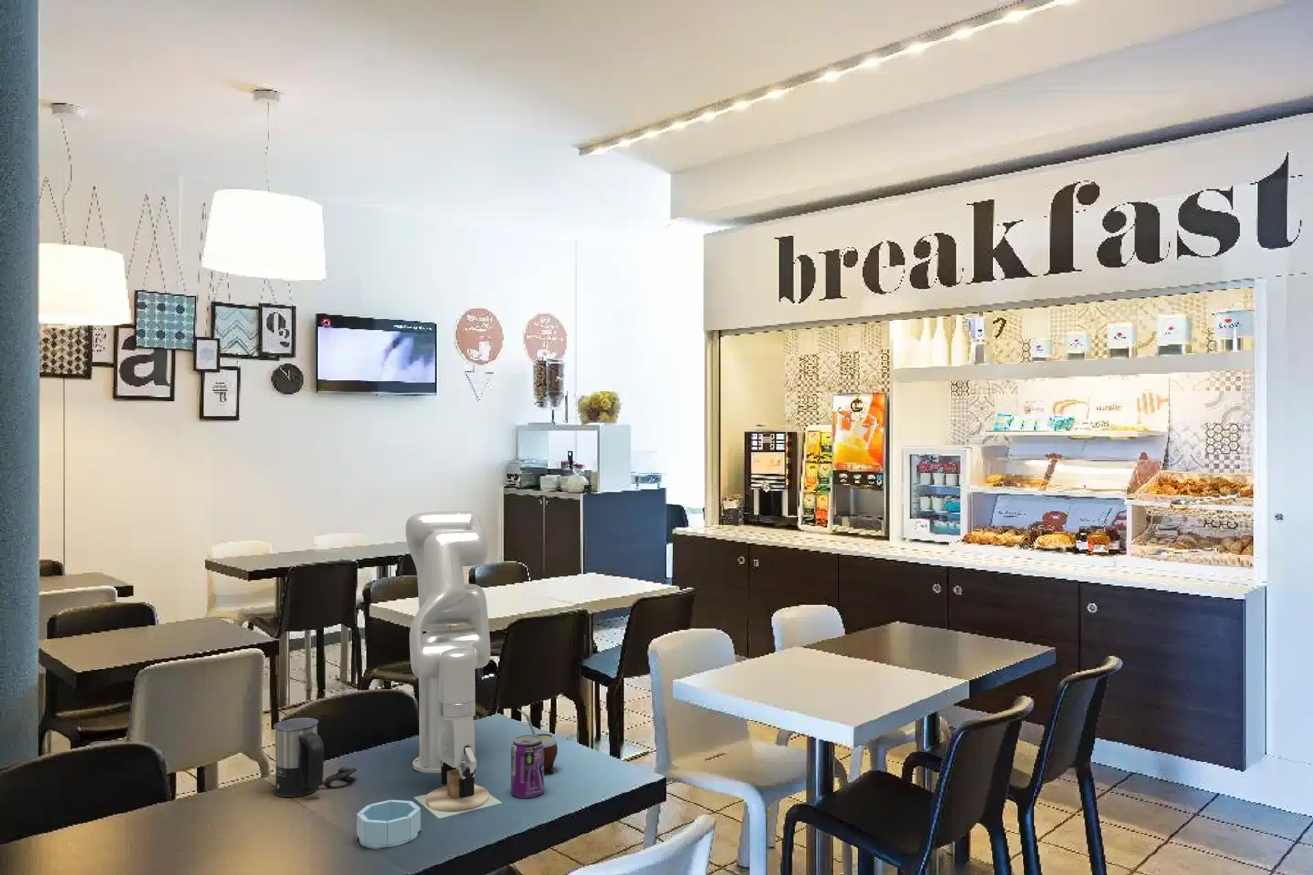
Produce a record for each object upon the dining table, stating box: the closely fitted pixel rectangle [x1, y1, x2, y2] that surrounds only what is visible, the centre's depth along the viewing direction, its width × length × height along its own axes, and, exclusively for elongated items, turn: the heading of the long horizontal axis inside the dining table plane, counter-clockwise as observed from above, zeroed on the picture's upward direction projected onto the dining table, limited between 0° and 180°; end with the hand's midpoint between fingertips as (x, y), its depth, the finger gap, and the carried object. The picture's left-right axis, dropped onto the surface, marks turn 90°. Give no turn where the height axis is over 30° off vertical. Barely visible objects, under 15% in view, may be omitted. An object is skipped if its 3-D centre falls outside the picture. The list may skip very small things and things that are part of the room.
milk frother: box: [273, 717, 357, 798], centre depth 209 cm, size 14×16×15 cm
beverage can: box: [510, 734, 545, 799], centre depth 204 cm, size 7×7×12 cm
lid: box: [426, 769, 490, 812], centre depth 200 cm, size 13×13×6 cm
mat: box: [413, 783, 503, 820], centre depth 200 cm, size 14×14×1 cm
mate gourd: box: [516, 708, 558, 775], centre depth 218 cm, size 8×8×15 cm
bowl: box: [356, 799, 422, 850], centre depth 182 cm, size 11×11×5 cm
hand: (457, 789), depth 200 cm, fingers open, 8 cm apart
